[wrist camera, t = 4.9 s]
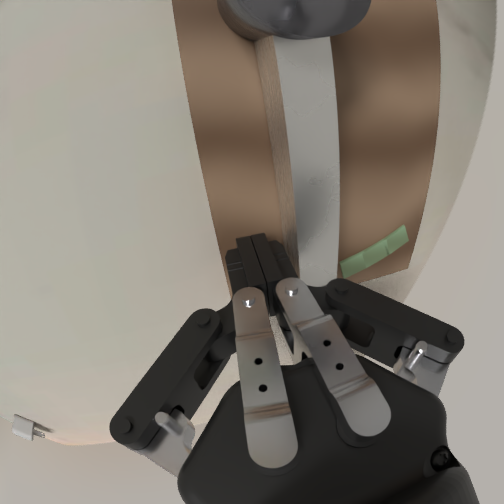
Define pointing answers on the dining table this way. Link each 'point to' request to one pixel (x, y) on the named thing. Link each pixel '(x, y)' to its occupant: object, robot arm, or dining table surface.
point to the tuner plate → (349, 129)
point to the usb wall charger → (24, 428)
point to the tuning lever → (301, 117)
